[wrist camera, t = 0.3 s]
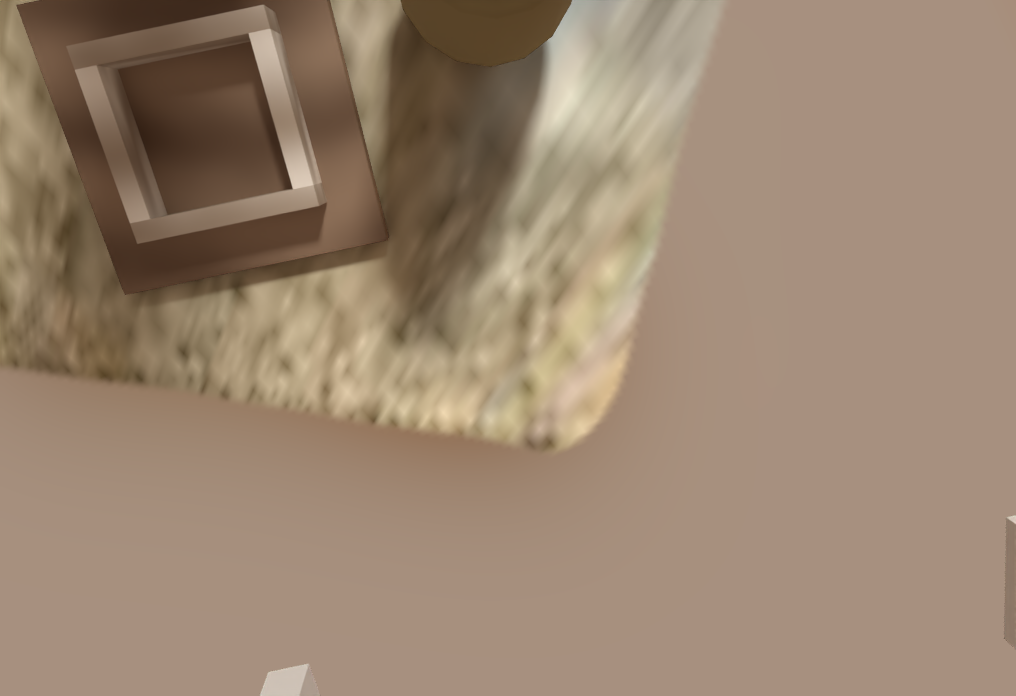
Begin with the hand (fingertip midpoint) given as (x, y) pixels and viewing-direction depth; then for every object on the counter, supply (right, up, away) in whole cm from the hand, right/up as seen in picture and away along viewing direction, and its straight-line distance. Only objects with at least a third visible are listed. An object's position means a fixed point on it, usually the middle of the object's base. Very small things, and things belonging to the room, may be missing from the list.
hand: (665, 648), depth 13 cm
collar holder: (-18, +17, +22) cm, 33 cm away
